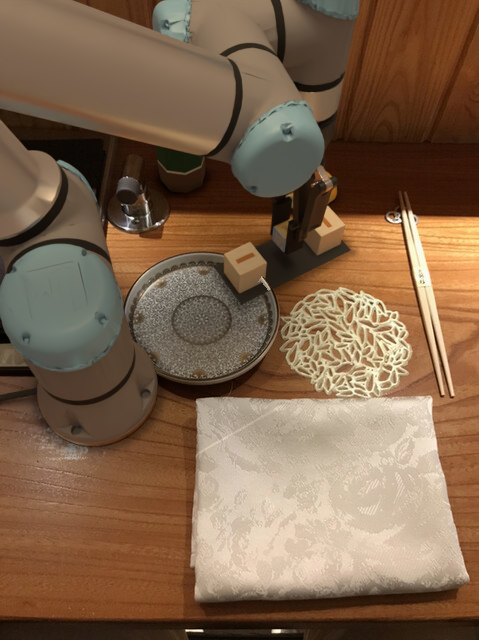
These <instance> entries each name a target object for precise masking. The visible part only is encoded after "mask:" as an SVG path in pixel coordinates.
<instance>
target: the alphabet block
mask: <svg viewBox="0 0 479 640" xmlns="http://www.w3.org/2000/svg"><path fill="white" fill-rule="evenodd" d="M292 219H293V218H290V219H288V220H286V221H284V222H282V223H280V224H278V225H276V226H274V227H273V236H271V237H272V238H271V240H273V241H274V242H275V243H276V245H277V246H278V247H279V248H280V249H281V250H282V251H283V252H285V244H286V237H287V229H288V222H289V221H290V220H292Z"/></svg>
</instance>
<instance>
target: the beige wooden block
mask: <svg viewBox="0 0 479 640" xmlns="http://www.w3.org/2000/svg"><path fill="white" fill-rule="evenodd" d="M345 228H346V223H344V222H343V220H342V219H340V217H339V216H338V215H337V214H336V213H335V212H334V210H332V209H331V207H330V206H329V205H327V208H326V212H325V215H324V218H323V221H322V225H321V226H320V227H318V228H316V229H314V230H312V231H310V232H308V234H307V238H306V239H304V241H305V242H306V243H307V244H308V246H309V247H310V248H311V249H312V250H313V251H314V253H315V254H316V255H319V254H321V253H323V252H326V251H328V250H330V249H332V248H334V247H336V246H338V245H340V244H341V240H342V241H343V236H344V233H345Z"/></svg>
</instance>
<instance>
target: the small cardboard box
mask: <svg viewBox="0 0 479 640" xmlns="http://www.w3.org/2000/svg"><path fill="white" fill-rule="evenodd" d="M255 247H256V246H254V245H253V243H252V242H251V241H248V242H246V243H244V244H242V245H240V246H238V247H235V248H233V249H231V250H229V251H227V252H225V253H223V262H224V273H225V275H226V276H227V277H228V279H229V280H230V282H231V283H232V284H233V286H234V287H235V288H236V290H237V291H238V292H239V293H242V292H244V291H246V290H248V289H250V288H252V287H254V286H256V285H258V284H260V283H262V282H261V281H260V282H258V281H259V279H260V278H261V276H262V277H264V278H265V276H266V266H267V262H266V261H265V260H264V259H263V257H262V256H261V255H260V253H259V252H258V251H257V250H256V248H255ZM257 282H258V283H257Z"/></svg>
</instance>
